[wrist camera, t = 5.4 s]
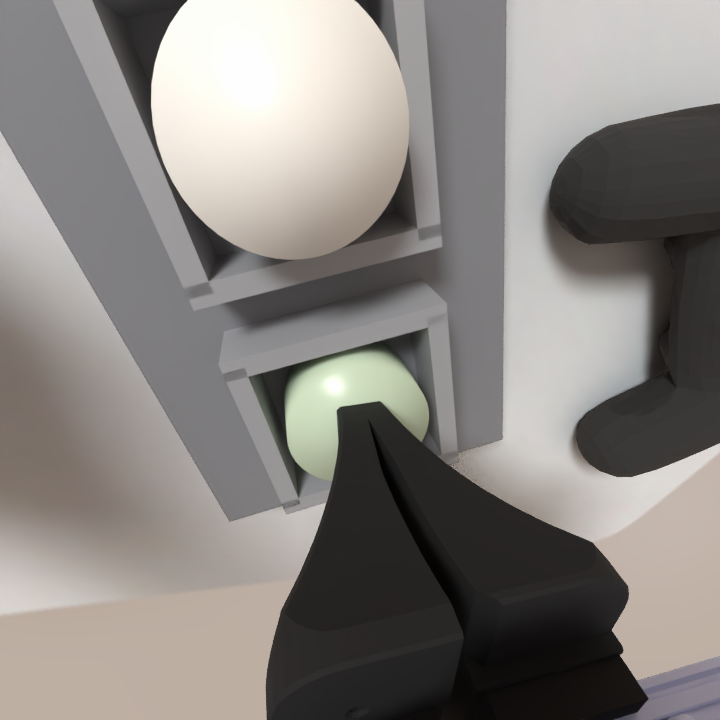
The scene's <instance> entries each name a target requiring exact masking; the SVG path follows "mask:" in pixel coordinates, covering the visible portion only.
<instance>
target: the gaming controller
mask: <svg viewBox="0 0 720 720" xmlns="http://www.w3.org/2000/svg"><path fill="white" fill-rule="evenodd" d="M550 202H551V208H552V211H553V213H554V215H555V217H556V219H557V220H558V221H559V223H560V224H561V225H562V227H563V228H564V229H565V230H567V231H568V232H569V233H570V234H572V235H573V236H574V237H575V238H576V239H578V240H580V241H582V242H585V243H587V244H601V243H615V242H628V241H640V240H647V239H655V238H663V237H665V239H664V247H665V249H666V251H667V253H668V254H669V256H670V259H671V263H672V267H673V290H672V307H671V318H670V328H669V329H668V330H667V331H665V332H664V333H663V334H662V336H661V338H660V340H659V349H660V351H661V353H662V356H663V358H664V360H665V363H666V365H667V367H668V369H669V371H667V372H666V373H664V374H662V375H660V376H658V377H656V378H654V379H652V380H650V381H648V382H646V383H644V384H641V385H639V386H637V387H635V388H633V389H631V390H628V391H626V392H624V393H622V394H620V395H618V396H616V397H614V398H611V399H609V400H607V401H606V402H604V403H602V404H601V405H599V406H597V407H596V408H594V409H592V410H591V411H589V412H588V413H587V414H586V415H585V417H584V418H583V419H582V420H581V421H580V422H579V427H578V433H577V443H578V447H579V450H580V452H581V453H582V455H583V457H584V458H585V459H586V460H587V461H588V463H589V464H590V465H592V466H593V467H595V468H596V469H598V470H599V471H601V472H604V473H607V474H610V475H613V476H616V477H633V476H636V475H640V474H643V473H646V472H650V471H653V470H657V469H659V468H662V467H664V466H667V465H669V464H672V463H674V462H677V461H679V460H682V459H684V458H687V457H689V456H691V455H694V454H696V453H698V452H701V451H703V450H705V449H708V448H710V447H712V446H714V445H716V444H719V443H720V104H713V105H707V106H700V107H694V108H688V109H683V110H679V111H674V112H669V113H664V114H659V115H654V116H650V117H645V118H641V119H636V120H632V121H627V122H623V123H618V124H614V125H609V126H607V127H605V128H603V129H601V130H599V131H597V132H595V133H593V134H591V135H589V136H587V137H586V138H585V139H583V140H582V141H581V142H580V143H579V144H577V145H576V146H575V147H574V148H573V149H571V151H570V152H569V153H568V155H567V156H566V157H565V158H564V160H563V161H562V162H561V164H560V165H559V167H558V169H557V171H556V173H555V176H554V178H553V180H552V185H551V190H550Z"/></svg>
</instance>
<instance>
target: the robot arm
mask: <svg viewBox="0 0 720 720" xmlns="http://www.w3.org/2000/svg"><path fill="white" fill-rule="evenodd" d="M336 411H337V427H338V451H337V459H336V464H335V470H334V475H333V480H332V484H331V488H330V492H329V496H328V499H327V503H326V506H325V510H324V513H323V516H322V519H321V522H320V525H319V528H318V530H317V533H316V536H315V538H314V541H313V543H312V546H311V548H310V551H309V553H308V555H307V558H306V560H305V562H304V565H303V567H302V569H301V572H300V574H299V576H298V578H297V580H296V582H295V584H294V586H293V588H292V590H291V592H290V594H289V596H288V598H287V600H286V602H285V604H284V606H283V608H282V610H281V613H280V618H279V621H278V625H277V629H276V632H275V636H274V640H273V645H272V648H271V653H270V658H269V663H268V669H267V678H266V709H267V720H720V656H718V657H715V658H712V659H708V660H705V661H701V662H698V663H695V664H691V665H688V666H684V667H681V668H678V669H674V670H671V671H668V672H664V673H662V674H658V675H654V676H651V677H648V678H644V679H641V680H638V681H637V680H636V679H635V678H634V676H633V675H632V673H631V671H630V670H629V668H628V667H627V665H626V664H625V663H624V661H623V660H622V658H621V657H620V654H622V653H623V647H622V645H621V643H620V642H619V641H618V639H617V638H616V636H615V635H614V633H613V632H612V628H613V627H614V625H615V623H616V622H617V620H618V618H619V617H620V615H621V613H622V611H623V610H624V608H625V606H626V603H627V601H628V596H629V592H628V586H627V584H626V583H625V582H624V581H623V579H622V578H621V577H620V576H619V574H618V573H617V572H616V570H615V569H614V567H613V566H612V565H611V564H610V562H609V561H608V560H607V558H606V557H605V556H604V555H603V554H602V553H601V552H600V551H599V549H598V548H597V547H596V546H595V545H594V544H593V543H592V542H590V541H588V540H585V539H583V538H581V537H578V536H576V535H573V534H571V533H569V532H566V531H564V530H561V529H559V528H557V527H554V526H552V525H550V524H547V523H545V522H543V521H541V520H539V519H537V518H535V517H533V516H531V515H529V514H527V513H525V512H523V511H521V510H519V509H517V508H515V507H513V506H511V505H510V504H508V503H506V502H504V501H503V500H501V499H499V498H497V497H496V496H494V495H492V494H491V493H489V492H487V491H485V490H484V489H482V488H481V487H479V486H477V485H476V484H474V483H473V482H471V481H470V480H468V479H467V478H466V477H464V476H463V475H461V474H460V473H458V472H457V471H456V470H454V469H453V468H452V467H450V466H449V465H448V464H447V463H445V462H444V461H443V460H442V459H440V458H439V457H438V456H437V455H436V454H434V453H433V452H432V451H431V450H430V449H428V448H427V447H426V446H425V445H424V444H423V443H422V442H421V441H420V440H419V439H417V438H416V437H415V436H414V435H413V434H412V433H411V432H410V431H409V430H408V429H407V428H406V427H405V426H404V425H403V424H402V423H401V422H400V421H399V420H398V419H397V418H396V417H395V416H394V415H393V414H392V413H391V412H390V411H389V410H388V408H387V407H386V406H385V405H384V404H383V403H382V402H380V401H377V402H370V403H363V404H356V405H349V406H342V407H339V408H338V409H337V410H336Z"/></svg>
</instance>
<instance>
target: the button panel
mask: <svg viewBox="0 0 720 720" xmlns="http://www.w3.org/2000/svg"><path fill="white" fill-rule="evenodd" d="M187 1H188V0H0V131H1V133H2V135H3V136H4V138H5V140H6V141H7V143H8V145H9V147H10V148H11V150H12V152H13V153H14V155H15V157H16V158H17V160H18V162H19V164H20V165H21V167H22V169H23V170H24V172H25V174H26V176H27V177H28V179H29V181H30V182H31V184H32V186H33V187H34V189H35V191H36V193H37V194H38V196H39V198H40V199H41V201H42V203H43V205H44V206H45V208H46V210H47V211H48V213H49V215H50V216H51V218H52V220H53V222H54V223H55V225H56V227H57V228H58V230H59V232H60V233H61V235H62V237H63V239H64V240H65V242H66V244H67V245H68V247H69V249H70V251H71V252H72V254H73V256H74V257H75V259H76V261H77V262H78V264H79V266H80V268H81V269H82V271H83V273H84V274H85V276H86V278H87V280H88V281H89V283H90V285H91V286H92V288H93V290H94V291H95V293H96V295H97V297H98V298H99V300H100V302H101V303H102V305H103V307H104V308H105V310H106V312H107V314H108V315H109V317H110V319H111V320H112V322H113V324H114V326H115V327H116V329H117V331H118V332H119V334H120V336H121V337H122V339H123V341H124V343H125V344H126V346H127V348H128V349H129V351H130V353H131V355H132V356H133V358H134V360H135V361H136V363H137V365H138V366H139V368H140V370H141V372H142V373H143V375H144V377H145V378H146V380H147V382H148V383H149V385H150V387H151V389H152V390H153V392H154V394H155V395H156V397H157V399H158V401H159V402H160V404H161V406H162V407H163V409H164V411H165V412H166V414H167V416H168V418H169V419H170V421H171V423H172V424H173V426H174V428H175V430H176V431H177V433H178V435H179V436H180V438H181V440H182V441H183V443H184V445H185V447H186V448H187V450H188V452H189V453H190V455H191V457H192V458H193V460H194V462H195V464H196V465H197V467H198V469H199V470H200V472H201V474H202V476H203V477H204V479H205V481H206V482H207V484H208V486H209V487H210V489H211V491H212V493H213V494H214V496H215V498H216V499H217V501H218V503H219V505H220V506H221V508H222V510H223V511H224V513H225V515H226V516H227V518H228V520H229V522H230V521H233V520H237V519H240V518H243V517H247V516H250V515H253V514H257V513H260V512H263V511H267V510H270V509H273V508H276V507H280V506H283V508H284V510H285V512H286V514H289V513H293V512H296V511H299V510H303V509H306V508H309V507H312V506H316V505H319V504H322V503H326V502H327V499H328V496H329V492H330V488H331V484H332V481H327V480H323V479H321V478H318V477H315V476H313V475H312V474H310V473H308V472H307V471H305V470H304V469H303V468H302V467H300V466H299V465H298V464H297V462H296V461H295V460H294V458H293V456H292V454H291V452H290V450H289V447H288V442H287V432H286V420H285V408H284V387H285V383H286V380H287V377H288V375H289V373H290V371H291V370H292V368H293V367H294V365H295V364H297V363H300V362H304V361H308V360H311V359H315V358H319V357H322V356H326V355H330V354H333V353H337V352H341V351H344V350H348V349H352V348H355V347H359V346H363V345H366V344H370V343H374V342H377V341H381V342H383V343H385V344H387V345H388V346H390V347H391V348H392V349H394V350H395V351H396V352H397V353H398V354H399V355H400V357H401V358H402V360H403V361H404V363H405V365H406V366H407V368H408V370H409V371H410V373H411V375H412V376H413V378H414V380H415V381H416V383H417V385H418V386H419V388H420V390H421V391H422V393H423V395H424V396H425V399H426V401H427V404H428V409H429V423H428V428H427V431H426V434H425V436H424V438H423V440H422V443H423V444H424V445H425V446H426V447H427V448H428V449H430V450H431V451H432V452H433V453H434V454H436V455H437V456H438V457H439V458H440V459H442V460H443V461H444V462H445V463H447V464H448V465H451V464H454V463H457V462H459V461H458V453H459V452H462V451H465V450H469V449H472V448H475V447H479V446H482V445H485V444H489V443H492V442H495V441H498V440H502V423H503V312H504V201H505V90H506V0H355V1H356V2H357V3H358V4H359V5H360V6H361V7H362V8H363V9H364V10H365V11H366V13H367V14H368V15H369V16H370V17H371V18H372V19H373V21H374V22H375V24H376V25H377V26H378V28H379V29H380V31H381V32H382V34H383V35H384V37H385V39H386V40H387V42H388V44H389V46H390V48H391V50H392V52H393V54H394V56H395V59H396V61H397V64H398V66H399V69H400V71H401V75H402V79H403V82H404V86H405V90H406V96H407V102H408V108H409V143H408V150H407V156H406V162H405V165H404V169H403V172H402V176H401V179H400V181H399V183H398V186H397V188H396V191H395V193H394V195H393V197H392V198H391V200H390V202H389V204H388V206H387V207H386V208H385V210H384V211H383V213H382V214H381V215H380V217H379V218H378V219H377V220H376V221H375V222H374V224H373V225H372V226H371V227H370V228H369V229H368V230H367V231H365V232H364V233H363V234H362V235H361V236H360V237H358V238H357V239H356V240H354V241H352V242H351V243H349V244H348V245H346V246H344V247H342V248H340V249H338V250H336V251H334V252H331V253H328V254H325V255H322V256H319V257H314V258H308V259H297V260H287V259H275V258H270V257H266V256H261V255H258V254H255V253H252V252H249V251H247V250H244V249H242V248H240V247H238V246H236V245H234V244H232V243H231V242H229V241H227V240H226V239H224V238H223V237H221V236H219V235H218V234H217V233H216V232H214V231H213V230H212V229H211V228H209V227H208V226H207V225H206V224H205V223H204V222H203V221H202V220H201V219H200V218H199V217H198V216H197V215H196V214H195V213H194V212H193V211H192V209H191V208H190V207H189V206H188V204H187V203H186V202H185V201H184V199H183V198H182V197H181V195H180V193H179V192H178V190H177V188H176V187H175V185H174V184H173V182H172V180H171V178H170V176H169V174H168V172H167V170H166V167H165V165H164V163H163V160H162V157H161V154H160V151H159V148H158V145H157V141H156V136H155V132H154V127H153V120H152V110H151V86H152V78H153V71H154V65H155V61H156V58H157V54H158V51H159V48H160V44H161V42H162V40H163V37H164V35H165V33H166V31H167V29H168V27H169V25H170V23H171V22H172V20H173V19H174V17H175V16H176V14H177V13H178V11H179V10H180V8H181V7H182V6H183V5H184V4H185V3H186V2H187Z"/></svg>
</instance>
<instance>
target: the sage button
mask: <svg viewBox="0 0 720 720" xmlns="http://www.w3.org/2000/svg"><path fill="white" fill-rule="evenodd" d="M377 401H380V402H382V403H383V404H384V405H385V406H386V407H387V408H388V410H389V411H390V412H391V413H392V414H393V415H394V416H395V417H396V418H397V419H398V420H399V421H400V422H401V423H402V424H403V425H404V426H405V427H406V428H407V429H408V430H409V431H410V432H411V433H412V434H413V435H414V436H415V437H416V438H417V439H419V440H420V441H421V442H422V440H423V438H424V436H425V434H426V431H427V428H428V423H429V409H428V404H427V401H426V399H425V396H424V395H423V393H422V391H421V390H420V388H419V386H418V385H417V383H416V381H415V380H414V378H413V376H412V375H411V373H410V371H409V370H408V368H407V366H406V365H405V363H404V361H403V360H402V358H401V357H400V355H399V354H398V353H397V352H396V351H395V350H394V349H392V348H391V347H390V346H388V345H387V344H385V343H383V342H381V341H377V342H374V343H370V344H366V345H363V346H359V347H355V348H352V349H348V350H344V351H341V352H337V353H333V354H330V355H326V356H322V357H319V358H315V359H311V360H308V361H304V362H300V363H297V364H295V365H294V367H293V368H292V370H291V371H290V373H289V375H288V377H287V380H286V383H285V387H284V408H285V420H286V432H287V442H288V447H289V450H290V452H291V454H292V456H293V458H294V460H295V461H296V462H297V464H298V465H299V466H300V467H302V468H303V469H304V470H305V471H307V472H308V473H310V474H312V475H313V476H315V477H318V478H321V479H323V480H327V481H332V480H333V475H334V470H335V464H336V459H337V451H338V427H337V411H336V410H337V409H338V408H339V407H342V406H349V405H356V404H363V403H370V402H377Z"/></svg>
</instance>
